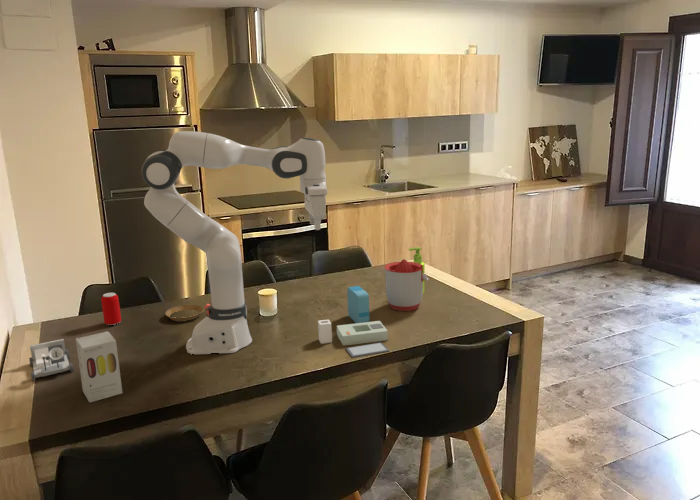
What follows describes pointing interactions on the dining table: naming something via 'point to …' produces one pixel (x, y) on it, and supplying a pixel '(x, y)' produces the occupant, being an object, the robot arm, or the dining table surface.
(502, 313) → the dining table surface
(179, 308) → the plant saucer
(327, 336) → the plug
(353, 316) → the blue rounded block
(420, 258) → the soap dispenser
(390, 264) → the citrus juicer
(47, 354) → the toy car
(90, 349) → the supplement box
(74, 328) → the dining table surface
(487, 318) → the dining table surface
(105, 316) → the beverage can
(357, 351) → the phone
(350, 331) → the socket strip
